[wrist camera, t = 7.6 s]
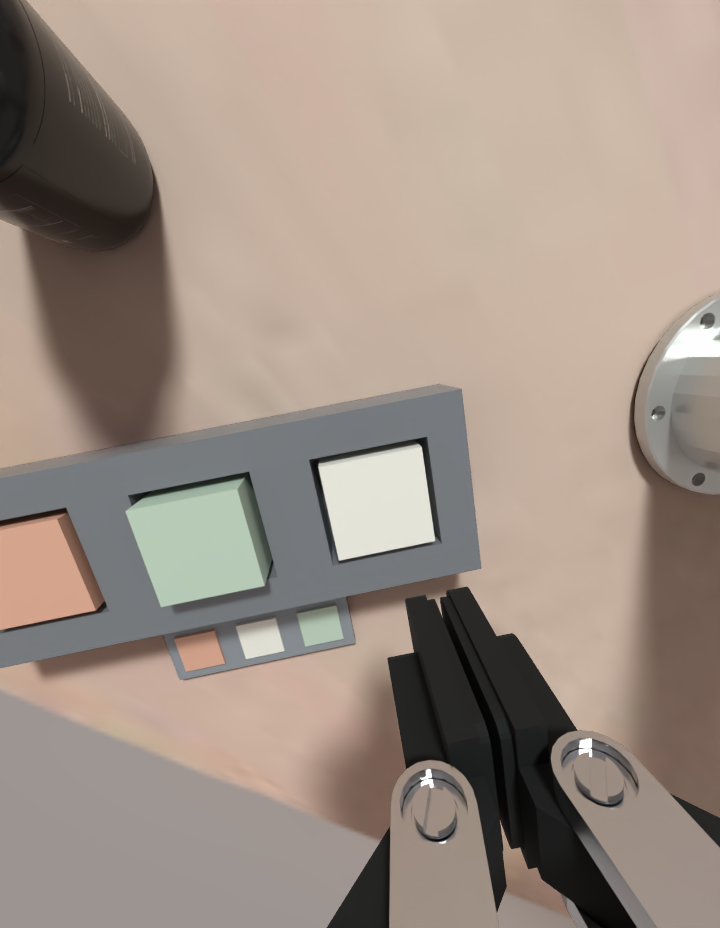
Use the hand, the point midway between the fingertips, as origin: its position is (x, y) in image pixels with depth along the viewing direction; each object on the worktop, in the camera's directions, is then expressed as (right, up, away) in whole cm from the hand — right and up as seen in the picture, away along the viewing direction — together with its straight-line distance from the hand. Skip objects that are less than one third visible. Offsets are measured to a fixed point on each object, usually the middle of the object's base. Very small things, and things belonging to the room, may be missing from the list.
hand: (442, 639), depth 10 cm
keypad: (-10, +2, +14) cm, 17 cm away
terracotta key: (-19, 0, +12) cm, 23 cm away
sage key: (-10, +1, +11) cm, 15 cm away
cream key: (-1, +3, +13) cm, 13 cm away
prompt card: (-9, -7, +16) cm, 19 cm away
